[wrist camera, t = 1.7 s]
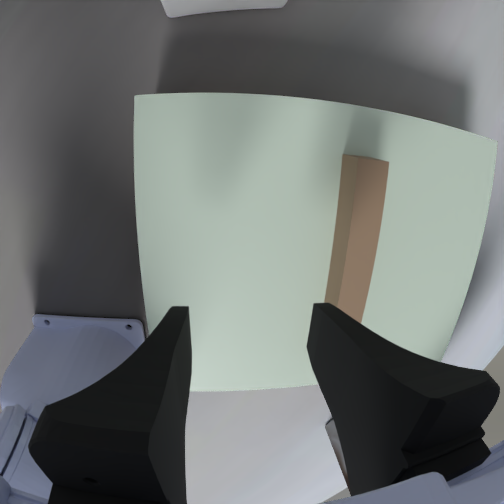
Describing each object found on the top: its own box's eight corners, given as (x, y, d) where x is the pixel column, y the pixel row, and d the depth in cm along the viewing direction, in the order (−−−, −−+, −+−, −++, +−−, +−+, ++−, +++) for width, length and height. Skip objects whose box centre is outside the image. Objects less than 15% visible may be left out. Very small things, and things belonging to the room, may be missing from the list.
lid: (160, 382, 19) (156, 411, 17) (138, 96, 13) (124, 91, 11) (435, 356, 22) (451, 376, 20) (489, 139, 16) (517, 145, 13)
